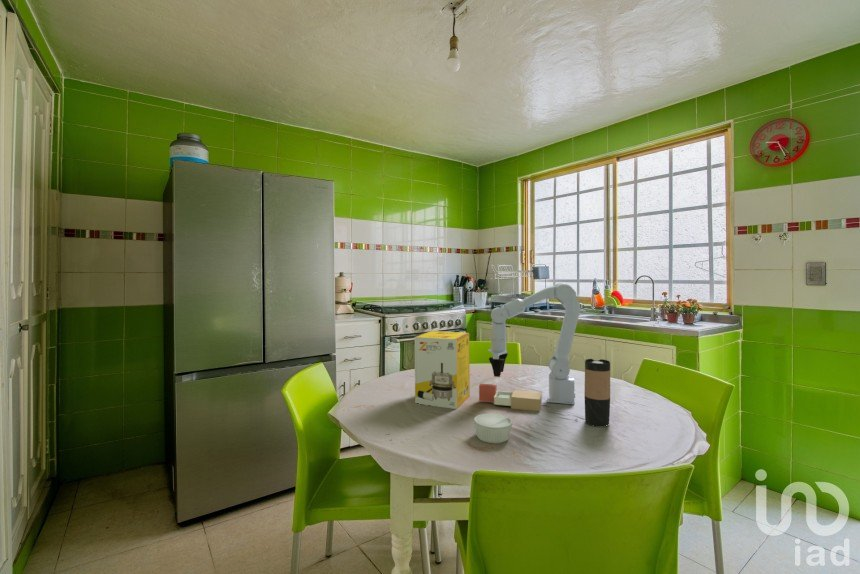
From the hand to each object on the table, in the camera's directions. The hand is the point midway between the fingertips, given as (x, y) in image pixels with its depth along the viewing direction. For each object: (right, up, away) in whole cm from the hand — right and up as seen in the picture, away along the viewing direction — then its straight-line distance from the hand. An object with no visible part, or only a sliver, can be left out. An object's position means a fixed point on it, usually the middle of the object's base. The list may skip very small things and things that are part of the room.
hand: (498, 374), depth 155 cm
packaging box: (-21, -10, -1) cm, 24 cm away
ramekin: (-8, -11, -36) cm, 38 cm away
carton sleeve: (+9, -10, -9) cm, 16 cm away
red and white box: (0, -9, -6) cm, 11 cm away
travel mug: (+27, -10, -26) cm, 39 cm away
